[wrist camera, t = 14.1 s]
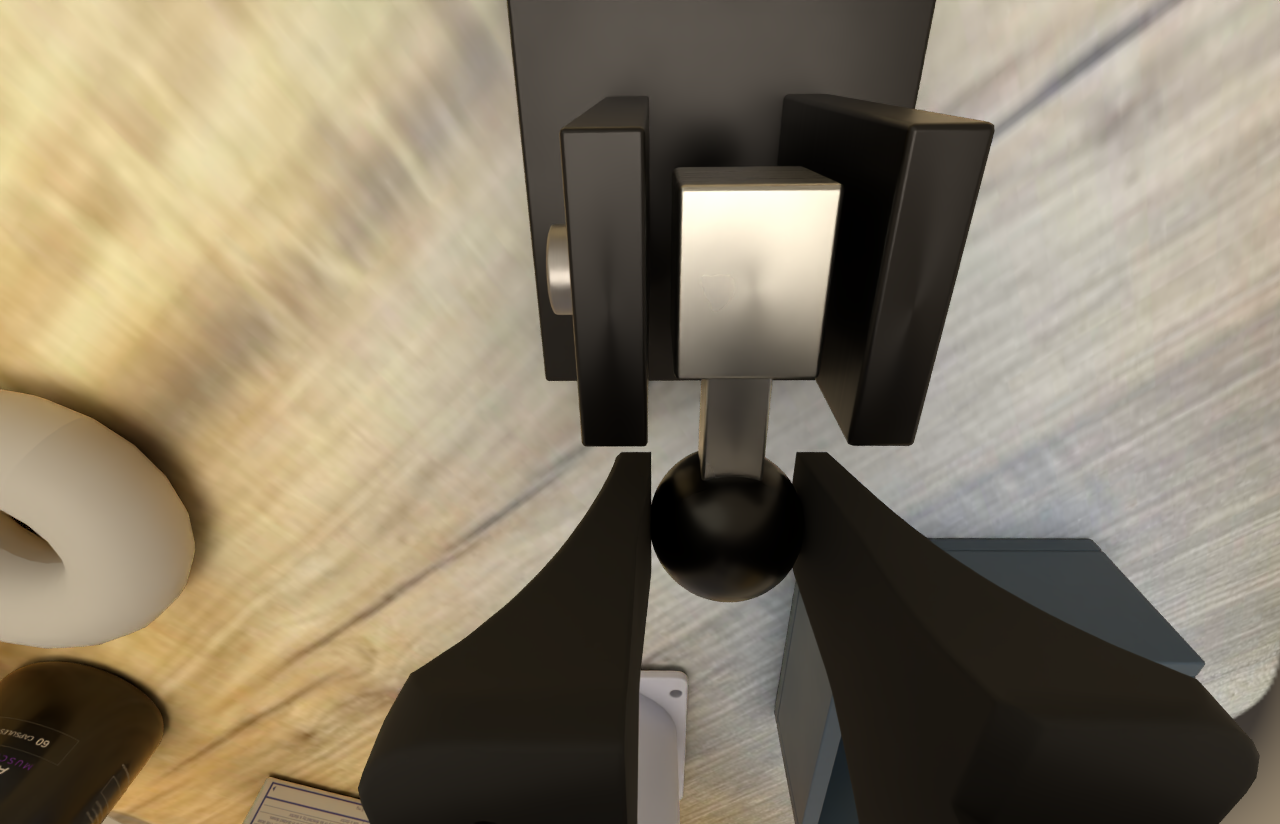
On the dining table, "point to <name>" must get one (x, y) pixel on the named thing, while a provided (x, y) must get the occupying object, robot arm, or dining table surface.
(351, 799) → the medicine box
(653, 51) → the bracket
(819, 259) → the lever
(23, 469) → the donut
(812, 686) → the bin
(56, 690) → the supplement bottle
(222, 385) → the dining table surface
